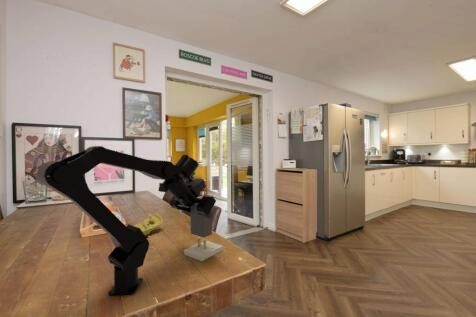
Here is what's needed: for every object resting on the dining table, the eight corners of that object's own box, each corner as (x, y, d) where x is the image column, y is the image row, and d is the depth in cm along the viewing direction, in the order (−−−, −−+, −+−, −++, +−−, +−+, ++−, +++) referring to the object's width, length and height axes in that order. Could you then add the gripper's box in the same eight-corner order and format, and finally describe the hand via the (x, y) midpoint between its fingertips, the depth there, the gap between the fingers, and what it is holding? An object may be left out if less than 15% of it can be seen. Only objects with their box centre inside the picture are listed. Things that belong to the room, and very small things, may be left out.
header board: (201, 261, 72) (201, 249, 72) (183, 253, 78) (183, 242, 78) (223, 249, 81) (222, 239, 81) (205, 243, 86) (205, 233, 86)
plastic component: (124, 238, 87) (113, 223, 92) (121, 252, 89) (111, 237, 94) (166, 222, 103) (154, 210, 108) (163, 234, 105) (152, 222, 110)
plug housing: (204, 237, 76) (203, 203, 76) (190, 233, 80) (190, 201, 80) (211, 234, 79) (211, 201, 79) (198, 230, 83) (198, 199, 83)
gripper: (212, 172, 71) (232, 200, 80) (176, 170, 82) (197, 195, 91) (194, 200, 65) (218, 227, 74) (157, 194, 76) (183, 218, 85)
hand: (203, 215), depth 81 cm, fingers closed on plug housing, 7 cm apart
